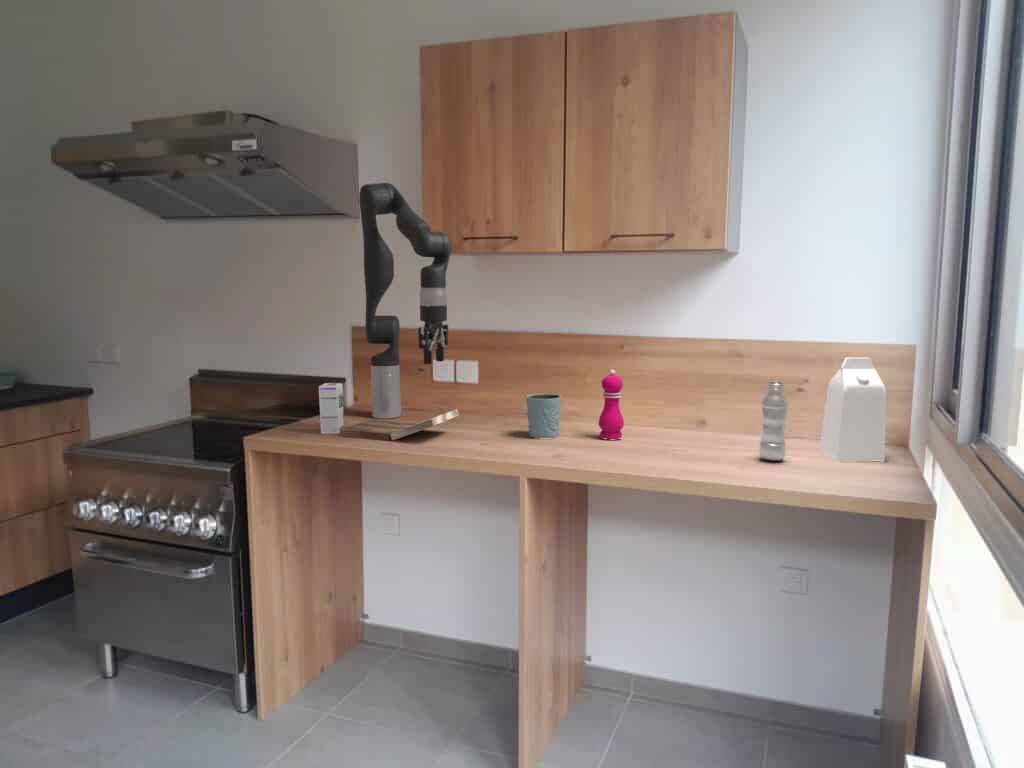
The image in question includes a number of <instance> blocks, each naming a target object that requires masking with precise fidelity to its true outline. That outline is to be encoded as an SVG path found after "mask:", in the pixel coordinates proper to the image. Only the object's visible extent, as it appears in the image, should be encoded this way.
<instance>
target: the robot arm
mask: <svg viewBox="0 0 1024 768" xmlns="http://www.w3.org/2000/svg"><path fill="white" fill-rule="evenodd" d="M358 199H359V202H358V203H359V210H360V211H359V212H360V218H361V226H362V238H363V239H362V241H363V269H364V270H363V272H364V275H363V276H364V285H365V288H364V289H365V336H366V337H365V338H366V341H367V342H368V344H372V345H389V346H388V348H387V349H385V350H384V351H382V352H379V353H375V354H374V355H372V356H371V357H370V373H371V374H370V377H371V383H370V384H371V387H370V388H371V417H372V418H375V419H395V418H399V417H401V415H402V399H401V397H402V395H401V392H402V391H401V389H402V388H401V383H400V382H401V381H400V377H401V374H400V329H401V327H400V320H399V317H398V316H396V315H376V312H377V310H378V306H379V304H380V302H381V300H382V298H384V295H385V293H387V291H388V290H389V288H390V286H391V284H392V283H393V280H394V278H395V265H394V264H395V263H394V261H395V260H394V256H393V255H394V254H393V253H392V251H391V249H390V248H389V246H388V245H387V243H386V242H385V240H384V239H383V237H382V235H381V233H380V231H379V228H378V224H377V216H382V215H389V214H393V215H396V217H395V224H396V227H397V229H398V231H399V232H400V234H402V235H403V236H404V237H405V238H406V239H407V240H408V241H409V242H410V246H411V247H412V249H413V251H414V253H415V254H417V255H418V256H419V257H422V258H433V261H432V263H431V264H430V265H426V266H423V267H421V269H420V291H419V320H420V321H421V322H424V325H423V326H419V327H418V329H417V330H418V348H419V350H422V351H423V364H424V365H432V363H433V350H432V349H433V345H435V347H436V348H435V360H436V362H444V361H445V348H446V346H448V345H449V325H448V324H443V322H447V319H448V294H447V283H446V281H447V269H448V266H449V261H450V257H451V253H452V247H453V244H452V239H451V237H450V236H449V234H448V233H446V232H443V231H432V230H431V227H430V225H429V223H428V222H426V221H425V220H424V219H423V218H422V217H421V216H419V215H418V214H417V213H416V212H415V211H414V210H413V209H412V208H411V206H410V205H409V204H408V202H407V200H406V199H405V197H404V196H403V194H401V192H400V191H399V190H398V188H396V186H395V185H393V184H391V183H389V182H379V183H366V184H363V185H362V186H361V187H360V190H359V198H358Z"/></svg>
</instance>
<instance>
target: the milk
mask: <svg viewBox="0 0 1024 768" xmlns="http://www.w3.org/2000/svg"><path fill="white" fill-rule="evenodd" d="M824 405H825V407H824V414H823V415H824V416H823V423H822V429H821V430H822V431H821V439H820V443H819V444H820V446H819V451H820V450H821V451H823V452H824V453H826V454H828V455H829V456H831V457H832V458H834V459H836V460H880V461H884V460H885V458H886V456H885V454H886V450H885V449H886V422H887V421H886V419H887V417H886V412H887V410H886V409H887V390H886V387H885V385H884V383H883V381H882V379H881V377H880V375H879V373H878V371H877V370H876V368H875V365H874V362H873V361H872V358H871V357H845V358H844V360H843V362H842V364H841V366H840V368H839V370H838V371H837V372H836V373H834V375H833V376H832V378H831V379H830V381H829V382H828V386H827V390H826V400H825V404H824Z"/></svg>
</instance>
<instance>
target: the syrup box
mask: <svg viewBox="0 0 1024 768" xmlns="http://www.w3.org/2000/svg"><path fill="white" fill-rule="evenodd" d="M343 392H344V391H343V383H342V382H327V383H326V382H325V383H323V384H321V385H319V386H318V398H319V399H318V401H319V402H318V403H319V404H318V405H319V419H320V421H319V424H320V434H321V435H341V431H340V430H341V429H344V428H345V417H344V416H345V414H344V393H343Z"/></svg>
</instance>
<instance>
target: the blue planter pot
mask: <svg viewBox="0 0 1024 768" xmlns="http://www.w3.org/2000/svg"><path fill="white" fill-rule="evenodd" d="M525 399H526V400H525V401H526V402H525V403H526V410H527V411H526V413H527V422H528V434H529V435H528V436H529V437H530V436H531V437H534V438H554V437H557V436H558V437H559V435H560V431H559V430H560V419H561V417H560V415H561V414H560V413H561V403H562V402H561V401H562V396H561V395H560V394H557V393H547V392H546V393H543V392H542V393H533V394H532V393H531V394H528V395H526V396H525ZM531 437H530V438H531ZM534 438H533V439H534Z"/></svg>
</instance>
